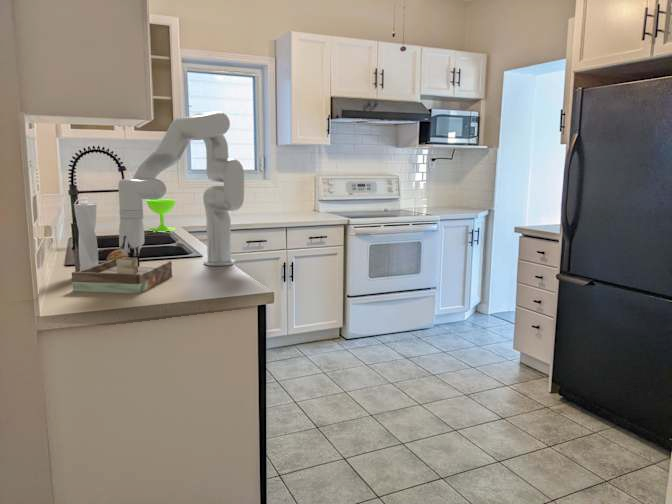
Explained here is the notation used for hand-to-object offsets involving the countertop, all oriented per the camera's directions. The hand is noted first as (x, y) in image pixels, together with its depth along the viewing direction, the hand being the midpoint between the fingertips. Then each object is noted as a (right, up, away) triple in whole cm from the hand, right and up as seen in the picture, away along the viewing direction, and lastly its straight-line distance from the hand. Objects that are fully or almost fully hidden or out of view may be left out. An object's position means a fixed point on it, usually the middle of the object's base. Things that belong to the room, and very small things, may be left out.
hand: (134, 266), depth 187 cm
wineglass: (-32, +18, +127) cm, 133 cm away
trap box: (-1, -5, -6) cm, 8 cm away
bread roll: (-15, 0, +26) cm, 30 cm away
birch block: (0, -2, -5) cm, 5 cm away
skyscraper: (-19, -3, +7) cm, 20 cm away
